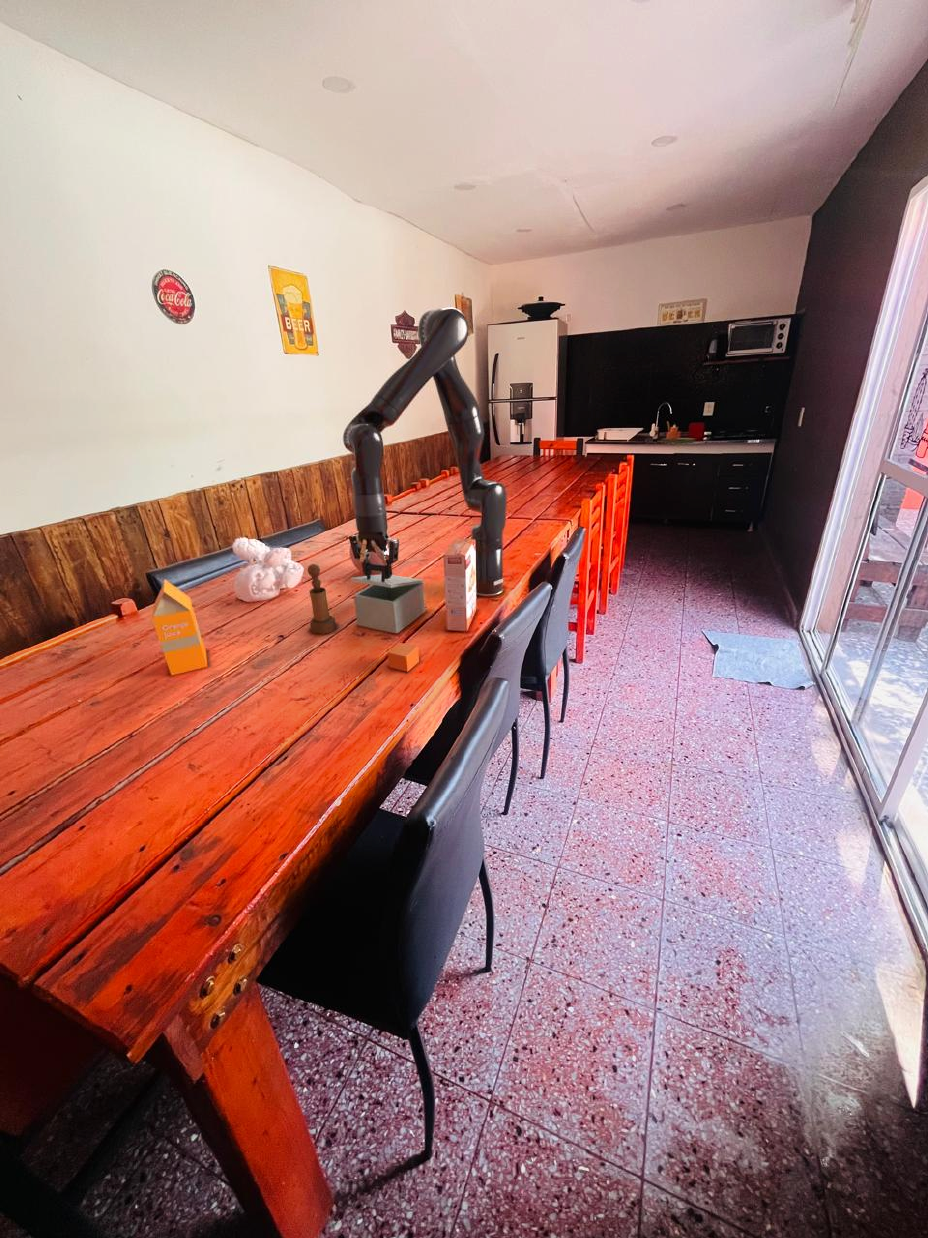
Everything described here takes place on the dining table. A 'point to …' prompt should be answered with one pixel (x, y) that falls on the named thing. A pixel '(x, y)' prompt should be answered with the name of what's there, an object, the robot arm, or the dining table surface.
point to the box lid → (379, 579)
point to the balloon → (372, 558)
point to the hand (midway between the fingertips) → (377, 576)
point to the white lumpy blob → (264, 570)
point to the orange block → (403, 657)
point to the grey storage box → (389, 606)
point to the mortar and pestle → (319, 605)
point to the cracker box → (460, 584)
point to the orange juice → (178, 630)
